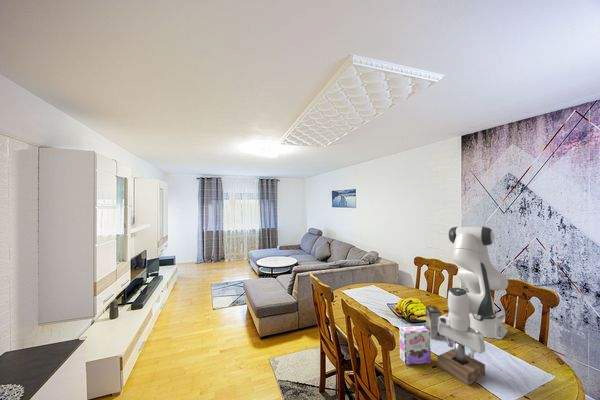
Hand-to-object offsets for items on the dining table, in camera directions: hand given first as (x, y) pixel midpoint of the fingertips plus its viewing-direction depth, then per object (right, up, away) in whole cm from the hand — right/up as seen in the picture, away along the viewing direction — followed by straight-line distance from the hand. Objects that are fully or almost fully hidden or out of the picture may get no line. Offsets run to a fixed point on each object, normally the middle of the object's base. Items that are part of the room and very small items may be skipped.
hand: (460, 351), depth 113 cm
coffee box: (+5, -10, +31) cm, 33 cm away
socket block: (0, -9, 0) cm, 9 cm away
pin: (0, -8, 0) cm, 8 cm away
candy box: (-18, -10, +7) cm, 22 cm away
